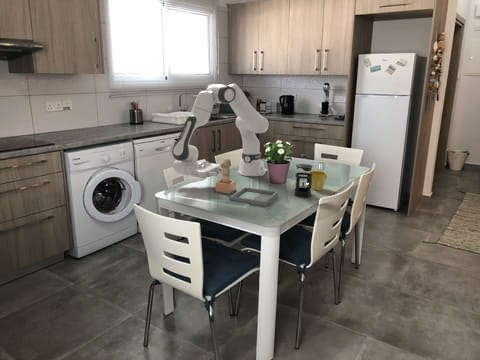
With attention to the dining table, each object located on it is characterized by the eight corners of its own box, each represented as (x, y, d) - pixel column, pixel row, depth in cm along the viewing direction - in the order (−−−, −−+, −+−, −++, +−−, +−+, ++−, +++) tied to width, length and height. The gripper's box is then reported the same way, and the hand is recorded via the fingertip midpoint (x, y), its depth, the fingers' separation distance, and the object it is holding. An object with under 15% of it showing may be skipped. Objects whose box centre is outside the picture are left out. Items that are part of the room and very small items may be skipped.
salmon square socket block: (222, 188, 229) (222, 178, 228) (235, 190, 226) (235, 180, 224) (215, 192, 222) (215, 182, 220) (229, 194, 219) (229, 184, 217)
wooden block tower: (224, 189, 226) (224, 158, 221) (230, 190, 225) (230, 158, 220) (221, 190, 223) (221, 159, 218) (227, 191, 221) (227, 160, 216)
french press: (302, 199, 213) (305, 157, 207) (289, 195, 220) (291, 154, 214) (316, 195, 221) (319, 154, 215) (303, 191, 228) (305, 151, 222)
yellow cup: (323, 186, 238) (324, 170, 236) (327, 191, 228) (329, 174, 226) (306, 186, 238) (307, 170, 235) (309, 191, 228) (311, 174, 225)
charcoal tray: (244, 191, 226) (244, 186, 225) (277, 196, 218) (278, 191, 217) (229, 201, 208) (229, 196, 207) (265, 206, 200) (265, 202, 200)
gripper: (189, 168, 218) (212, 171, 212) (207, 160, 236) (228, 163, 230) (190, 179, 219) (212, 182, 214) (207, 171, 237) (228, 173, 232)
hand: (220, 172), depth 222 cm, fingers open, 8 cm apart
